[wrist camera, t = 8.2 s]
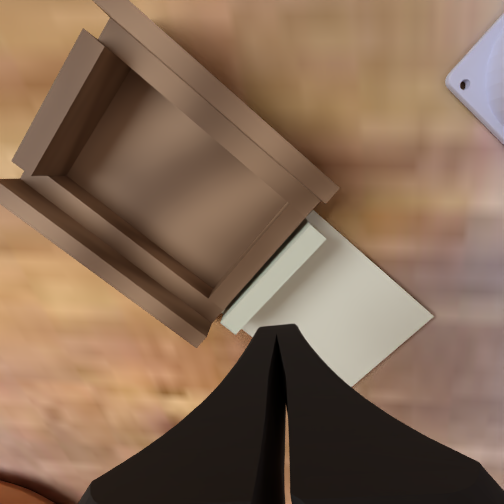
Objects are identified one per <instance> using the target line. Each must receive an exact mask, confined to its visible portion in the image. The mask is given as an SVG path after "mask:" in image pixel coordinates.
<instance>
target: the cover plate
mask: <svg viewBox="0 0 504 504" xmlns="http://www.w3.org/2000/svg"><path fill="white" fill-rule="evenodd" d="M221 313H222V314H223V317H222V320H221V324H222V325H224V326H225V327H226V328H228V329H229V330H230V331H231V332H233V333H234V334H235V335H236V334H237V333H238V332H239V331H240V330H241V329H243V330H244V331H245V332H246V333H248V334H249V335H250V336H251V337H253V336H254V334H255V333H256V331H257V329H258V328H259V327H263V326H273V325H283V324H296V325H297V326H298V328H299V330H300V332H301V333H302V335H303V336H304V338H305V339H306V340H307V342H308V343H309V344H310V346H311V347H312V348H313V349H314V351H315V352H316V353H317V354H318V355H319V357H320V358H321V359H322V360H323V361H324V362H325V363H326V364H327V365H328V366H329V367H330V368H331V369H332V370H333V371H334V372H335V373H336V374H337V375H338V376H339V377H340V378H341V379H342V380H343V381H344V382H346V383H347V384H348V385H349V386H350V387H352V386H353V385H354V384H356V383H357V382H358V381H359V380H360V379H361V378H363V377H364V376H365V375H366V374H367V373H368V372H370V371H371V370H372V369H373V368H374V367H375V366H377V365H378V364H379V363H380V362H381V361H382V360H384V359H385V358H386V357H387V356H388V355H389V354H391V353H392V352H393V351H394V350H395V349H397V348H398V347H399V346H400V345H401V344H402V343H404V342H405V341H406V340H407V339H408V338H409V337H411V336H412V335H413V334H414V333H415V332H416V331H418V330H419V329H420V328H421V327H422V326H423V325H425V324H426V323H427V322H428V321H429V320H430V319H432V318H433V317H434V316H433V315H432V314H431V313H430V312H428V311H427V310H426V309H425V308H424V307H423V306H422V305H420V304H419V303H418V302H417V301H416V300H415V299H414V298H413V297H411V296H410V295H409V294H408V293H407V292H406V291H405V290H403V289H402V288H401V287H400V286H399V285H398V284H397V283H396V282H394V281H393V280H392V279H391V278H390V277H389V276H388V275H386V274H385V273H384V272H383V271H382V270H381V269H380V268H379V267H377V266H376V265H375V264H374V263H373V262H372V261H371V260H369V259H368V258H367V257H366V256H365V255H364V254H363V253H362V252H360V251H359V250H358V249H357V248H356V247H355V246H354V245H352V244H351V243H350V242H349V241H348V240H347V239H346V238H345V237H343V236H342V235H341V234H340V233H339V232H338V231H337V230H335V229H334V228H333V227H332V226H331V225H330V224H329V223H328V222H326V221H325V220H324V219H323V218H322V217H321V216H320V215H318V214H317V213H316V212H315V211H314V210H312V211H311V212H310V213H309V214H308V216H307V217H306V218H305V219H304V220H303V221H302V222H301V223H300V225H299V226H298V227H297V228H296V229H295V230H294V231H293V232H292V234H291V235H290V236H289V237H288V238H287V239H286V240H285V241H284V243H283V244H282V245H281V246H280V247H279V248H278V249H277V250H276V252H275V253H274V254H273V255H272V256H271V257H270V258H269V259H268V261H267V262H266V263H265V264H264V265H263V266H262V267H261V268H260V270H259V271H258V272H257V273H256V274H255V275H254V276H253V277H252V279H251V280H250V281H249V282H248V283H247V284H246V285H245V286H244V288H243V289H242V290H241V291H240V292H239V293H238V294H237V295H236V297H235V298H234V299H233V300H232V301H231V302H230V303H229V305H228V306H227V307H226V308H225V309H224V310H223V311H222V312H221Z"/></svg>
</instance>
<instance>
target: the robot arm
mask: <svg viewBox="0 0 504 504" xmlns="http://www.w3.org/2000/svg"><path fill="white" fill-rule="evenodd" d="M462 81H463V82H464V83H465V85H466V86H465V89H464V90H462V89H461V88H460V83H461V82H462ZM445 83H446V86H447V88H448V89H449V90H450V91H451V92H452V93H453V94H454V95H455V96H456V97H457V98H458V99H459V100H460V101H461V102H462V103H463V104H464V105H465V106H466V107H467V108H468V109H469V110H470V111H471V112H472V113H473V114H474V115H475V116H476V117H477V118H478V119H479V120H480V121H481V122H482V123H483V124H484V125H485V126H486V127H487V128H488V129H489V130H490V131H491V132H492V133H493V134H494V135H495V136H496V138H497V139H498V140H499V141H500V142H501V143H502V144H503V145H504V13H503V14H502V15H501V16H500V17H499V18H498V19H497V21H496V22H495V23H494V24H493V25H492V26H491V27H490V28H489V29H488V31H487V32H486V33H485V34H484V35H483V36H482V37H481V38H480V39H479V40H478V42H477V43H476V44H475V45H474V46H473V47H472V48H471V49H470V50H469V52H468V53H467V54H466V55H465V56H464V57H463V58H462V59H461V60H460V62H459V63H458V64H457V65H456V66H455V67H454V68H453V69H452V70H451V72H450V73H449V74H448V75H447V77H446V80H445ZM286 407H287V413H288V425H289V452H290V494H291V501H292V504H504V490H503V489H502V488H501V487H500V486H499V485H498V484H497V483H496V481H495V480H494V479H493V478H492V477H491V476H490V475H489V474H488V472H487V471H486V470H485V469H484V468H483V467H482V465H481V464H480V463H479V462H477V461H475V460H473V459H471V458H469V457H467V456H465V455H463V454H461V453H459V452H457V451H455V450H453V449H451V448H449V447H447V446H445V445H443V444H441V443H439V442H437V441H435V440H433V439H430V438H428V437H427V436H425V435H423V434H421V433H419V432H418V431H416V430H414V429H412V428H411V427H409V426H407V425H405V424H404V423H402V422H400V421H398V420H397V419H395V418H394V417H392V416H390V415H389V414H387V413H386V412H384V411H383V410H381V409H380V408H378V407H377V406H376V405H374V404H373V403H371V402H370V401H368V400H367V399H365V398H364V397H363V396H361V395H360V394H359V393H358V392H356V391H355V390H354V389H353V388H351V387H350V386H349V385H348V384H347V383H346V382H344V381H343V380H342V379H341V378H340V377H339V376H338V375H337V374H336V373H335V372H334V371H333V370H332V369H331V368H330V367H329V366H328V365H327V364H326V363H325V362H324V361H323V360H322V359H321V358H320V357H319V355H318V354H317V353H316V352H315V351H314V349H313V348H312V347H311V346H310V344H309V343H308V342H307V340H306V339H305V338H304V336H303V335H302V333H301V332H300V330H299V328H298V326H297V325H296V324H283V325H273V326H263V327H259V328H258V329H257V331H256V333H255V334H254V336H253V338H252V340H251V341H250V343H249V345H248V346H247V348H246V349H245V351H244V352H243V354H242V355H241V357H240V358H239V360H238V361H237V363H236V364H235V365H234V367H233V368H232V369H231V371H230V372H229V373H228V374H227V376H226V377H225V378H224V380H223V381H222V382H221V383H220V384H219V385H218V387H217V388H216V389H215V390H214V391H213V392H212V393H211V394H210V395H209V396H208V397H207V398H206V399H205V400H204V401H203V402H202V403H201V404H200V405H199V406H198V407H196V408H195V409H194V410H193V411H192V412H191V413H190V414H188V415H187V416H186V417H185V418H184V419H183V420H182V421H181V422H179V423H178V424H177V425H176V426H174V427H173V428H172V429H170V430H169V431H168V432H167V433H165V434H164V435H163V436H161V437H160V438H158V439H157V440H156V441H154V442H153V443H152V444H150V445H149V446H147V447H146V448H144V449H143V450H142V451H140V452H139V453H137V454H136V455H134V456H132V457H131V458H129V459H128V460H126V461H124V462H123V463H121V464H120V465H118V466H116V467H115V468H113V469H112V470H110V471H108V472H107V473H105V474H104V475H102V476H100V477H99V478H97V479H95V480H93V481H92V482H91V484H90V485H89V487H88V488H87V490H86V492H85V493H84V495H83V496H82V498H81V499H80V501H79V503H78V504H285V491H284V461H285V417H286Z"/></svg>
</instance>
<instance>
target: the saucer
mask: <svg viewBox="0 0 504 504" xmlns="http://www.w3.org/2000/svg"><path fill="white" fill-rule="evenodd" d="M0 504H55V503H53V502H52V501H50V500H48V499H47V498H45V497H43V496H41V495H39V494H37V493H35V492H33V491H31V490H29V489H26V488H23V487H21V486H18V485H15V484H11V483H8V482H4V481H0Z"/></svg>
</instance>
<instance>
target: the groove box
mask: <svg viewBox="0 0 504 504" xmlns="http://www.w3.org/2000/svg"><path fill="white" fill-rule="evenodd" d="M93 1H94V2H95V3H96V4H97V5H98V6H99V7H100V8H101V9H102V10H103V11H104V12H105V13H106V14H107V15H108V16H109V17H110V19H109V20H108V22H107V24H106V26H105V28H104V29H103V31H102V33H101V35H100V37H99V38H98V39H96V38H95V37H94V36H92V35H91V34H90V33H89V32H87V31H86V30H85V29H82V31H81V33H80V35H79V37H78V39H77V40H76V42H75V44H74V46H73V48H72V50H71V52H70V53H69V55H68V57H67V59H66V61H65V63H64V64H63V66H62V68H61V70H60V72H59V74H58V76H57V77H56V79H55V81H54V83H53V85H52V87H51V89H50V90H49V92H48V94H47V96H46V98H45V100H44V102H43V103H42V105H41V107H40V109H39V111H38V113H37V115H36V116H35V118H34V120H33V122H32V124H31V126H30V127H29V129H28V131H27V133H26V135H25V137H24V139H23V140H22V142H21V144H20V146H19V148H18V150H17V152H16V153H15V155H14V157H13V159H12V162H13V163H15V164H16V165H17V166H19V167H20V168H21V169H23V170H24V173H23V174H22V176H21V178H20V179H0V204H1V205H2V206H3V207H5V208H6V209H8V210H9V211H10V212H12V213H13V214H14V215H16V216H17V217H18V218H20V219H21V220H23V221H24V222H25V223H27V224H28V225H29V226H31V227H32V228H33V229H35V230H36V231H38V232H39V233H40V234H42V235H43V236H44V237H46V238H47V239H48V240H50V241H51V242H52V243H54V244H55V245H57V246H58V247H59V248H61V249H62V250H63V251H65V252H66V253H67V254H69V255H70V256H72V257H73V258H74V259H76V260H77V261H78V262H80V263H81V264H82V265H84V266H85V267H87V268H88V269H89V270H91V271H92V272H93V273H95V274H96V275H97V276H99V277H100V278H102V279H103V280H104V281H106V282H107V283H108V284H110V285H111V286H112V287H114V288H115V289H116V290H118V291H119V292H121V293H122V294H123V295H125V296H126V297H127V298H129V299H130V300H131V301H133V302H134V303H136V304H137V305H138V306H140V307H141V308H142V309H144V310H145V311H146V312H148V313H149V314H151V315H152V316H153V317H155V318H156V319H157V320H159V321H160V322H161V323H163V324H164V325H166V326H167V327H168V328H170V329H171V330H172V331H174V332H175V333H176V334H178V335H179V336H180V337H182V338H183V339H185V340H186V341H187V342H189V343H190V344H191V345H193V346H194V347H195V348H197V347H198V346H199V345H200V344H201V343H202V342H203V340H204V339H205V338H206V337H207V335H208V332H209V329H210V327H211V324H212V323H213V321H214V320H215V319H216V318H217V317H218V316H219V315H220V314H221V312H222V311H223V310H224V309H225V308H226V307H227V306H228V305H229V303H230V302H231V301H232V300H233V299H234V298H235V297H236V295H237V294H238V293H239V292H240V291H241V290H242V289H243V288H244V286H245V285H246V284H247V283H248V282H249V281H250V280H251V279H252V277H253V276H254V275H255V274H256V273H257V272H258V271H259V270H260V268H261V267H262V266H263V265H264V264H265V263H266V262H267V261H268V259H269V258H270V257H271V256H272V255H273V254H274V253H275V252H276V250H277V249H278V248H279V247H280V246H281V245H282V244H283V243H284V241H285V240H286V239H287V238H288V237H289V236H290V235H291V234H292V232H293V231H294V230H295V229H296V228H297V227H298V226H299V225H300V223H301V222H302V221H303V220H304V219H305V218H306V217H307V216H308V214H309V213H310V212H311V211H312V210H313V209H314V208H315V206H316V205H317V204H318V203H319V202H320V201H322V202H324V203H325V204H326V203H327V202H328V201H329V200H330V199H331V198H332V196H333V195H334V194H335V193H336V192H337V191H338V190H339V189H340V188H339V187H338V186H337V185H336V184H335V183H334V182H333V181H332V180H330V179H329V178H328V177H327V176H326V175H325V174H324V173H323V172H321V171H320V170H319V169H318V168H317V167H316V166H315V165H314V164H312V163H311V162H310V161H309V160H308V159H307V158H306V157H305V156H303V155H302V154H301V153H300V152H299V151H298V150H297V149H296V148H294V147H293V146H292V145H291V144H290V143H289V142H288V141H287V140H285V139H284V138H283V137H282V136H281V135H280V134H279V133H277V132H276V131H275V130H274V129H273V128H272V127H271V126H270V125H268V124H267V123H266V122H265V121H264V120H263V119H262V118H261V117H259V116H258V115H257V114H256V113H255V112H254V111H253V110H252V109H250V108H249V107H248V106H247V105H246V104H245V103H244V102H243V101H241V100H240V99H239V98H238V97H237V96H236V95H235V94H234V93H232V92H231V91H230V90H229V89H228V88H227V87H226V86H225V85H223V84H222V83H221V82H220V81H219V80H218V79H217V78H216V77H214V76H213V75H212V74H211V73H210V72H209V71H208V70H207V69H205V68H204V67H203V66H202V65H201V64H200V63H199V62H198V61H196V60H195V59H194V58H193V57H192V56H191V55H190V54H189V53H187V52H186V51H185V50H184V49H183V48H182V47H181V46H180V45H178V44H177V43H176V42H175V41H174V40H173V39H172V38H171V37H169V36H168V35H167V34H166V33H165V32H164V31H163V30H162V29H160V28H159V27H158V26H157V25H156V24H155V23H154V22H153V21H151V20H150V19H149V18H148V17H147V16H146V15H145V14H144V13H142V12H141V11H140V10H139V9H138V8H137V7H136V6H135V5H133V4H132V3H131V2H130V1H129V0H93Z"/></svg>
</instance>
